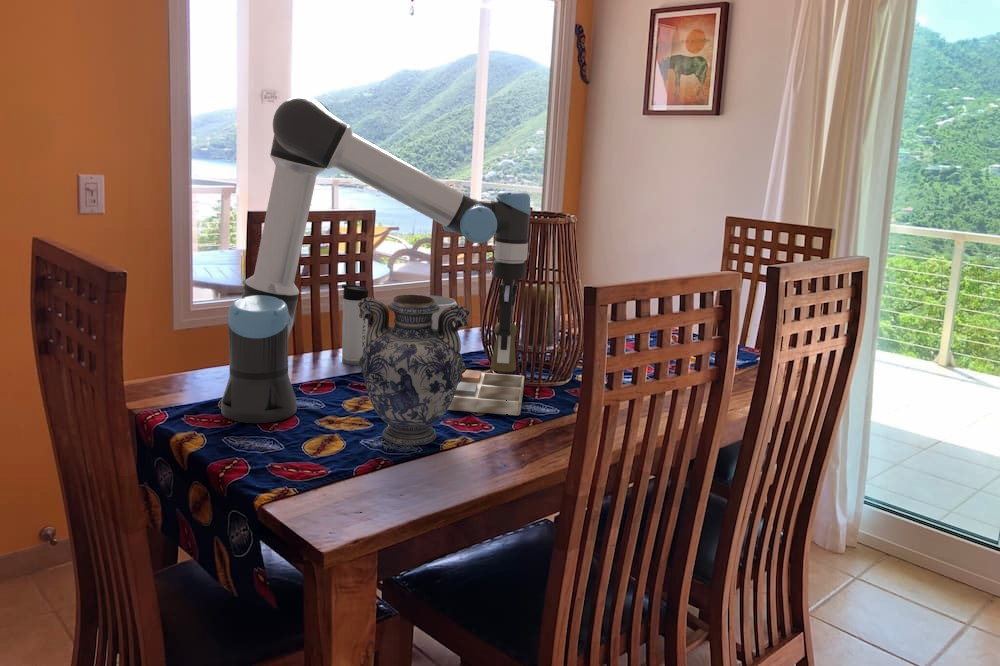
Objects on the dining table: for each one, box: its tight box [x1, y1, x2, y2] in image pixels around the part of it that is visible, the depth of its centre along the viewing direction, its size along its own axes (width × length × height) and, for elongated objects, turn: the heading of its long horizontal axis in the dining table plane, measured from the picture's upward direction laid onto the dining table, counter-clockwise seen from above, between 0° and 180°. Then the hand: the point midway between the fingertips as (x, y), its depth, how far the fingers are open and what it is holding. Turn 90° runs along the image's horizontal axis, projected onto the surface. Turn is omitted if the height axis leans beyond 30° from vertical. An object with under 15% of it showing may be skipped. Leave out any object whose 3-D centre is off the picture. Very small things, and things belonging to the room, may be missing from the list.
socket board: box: [447, 369, 525, 416], centre depth 190 cm, size 16×20×4 cm
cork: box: [490, 321, 518, 373], centre depth 192 cm, size 6×6×11 cm
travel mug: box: [341, 284, 369, 366], centre depth 210 cm, size 6×7×20 cm
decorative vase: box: [358, 294, 470, 447], centre depth 161 cm, size 21×19×28 cm
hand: (503, 359), depth 193 cm, fingers closed on cork, 5 cm apart
